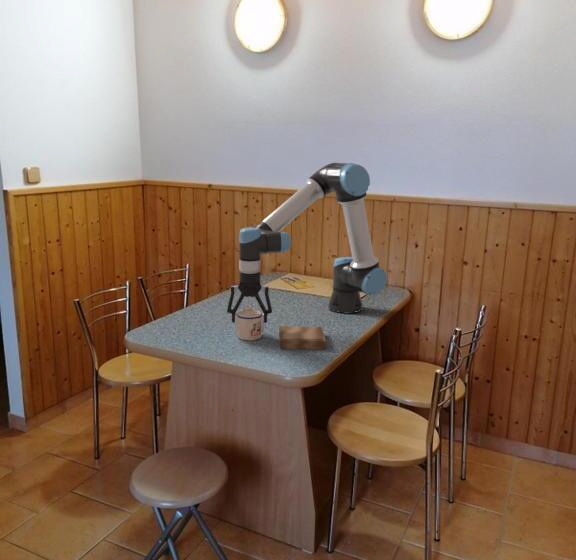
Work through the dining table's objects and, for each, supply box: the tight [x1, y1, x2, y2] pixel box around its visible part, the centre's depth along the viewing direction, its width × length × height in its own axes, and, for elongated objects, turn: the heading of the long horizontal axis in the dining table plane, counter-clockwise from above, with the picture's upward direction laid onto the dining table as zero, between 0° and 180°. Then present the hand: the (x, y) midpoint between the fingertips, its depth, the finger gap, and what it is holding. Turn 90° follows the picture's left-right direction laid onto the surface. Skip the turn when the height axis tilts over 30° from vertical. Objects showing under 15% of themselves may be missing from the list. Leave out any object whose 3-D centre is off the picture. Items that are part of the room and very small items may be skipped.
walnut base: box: [278, 325, 327, 350], centre depth 198 cm, size 16×16×3 cm
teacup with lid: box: [236, 305, 263, 341], centre depth 202 cm, size 12×9×12 cm
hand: (249, 330), depth 202 cm, fingers closed on teacup with lid, 9 cm apart
